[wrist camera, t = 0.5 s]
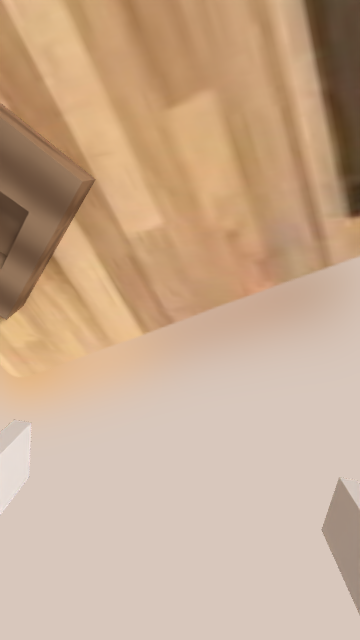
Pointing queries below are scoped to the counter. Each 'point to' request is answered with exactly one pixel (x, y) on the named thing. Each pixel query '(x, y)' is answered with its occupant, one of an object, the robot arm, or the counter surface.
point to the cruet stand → (32, 206)
